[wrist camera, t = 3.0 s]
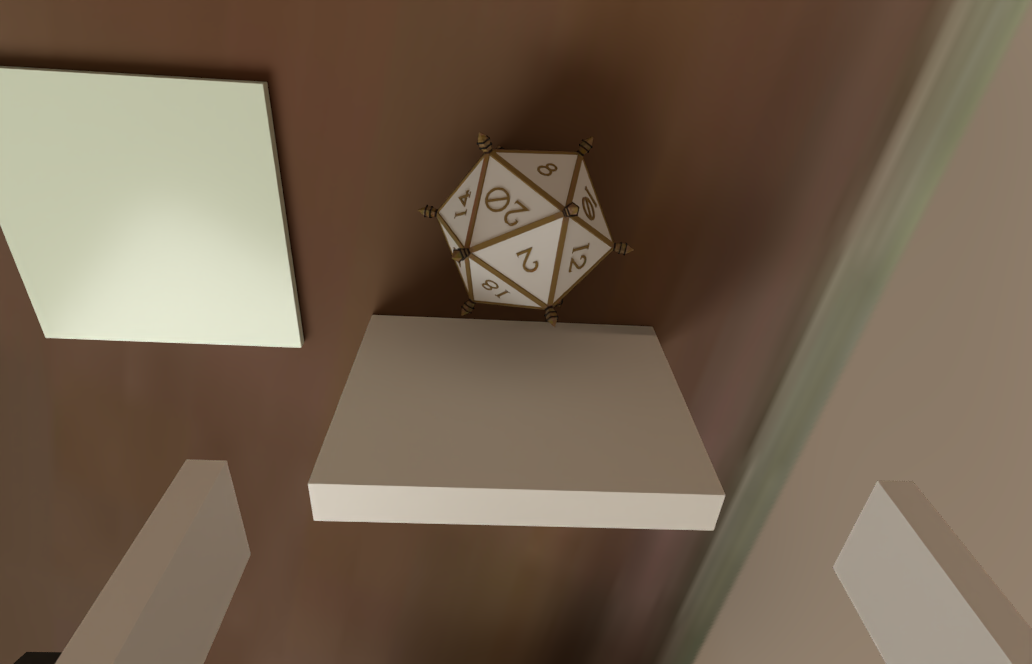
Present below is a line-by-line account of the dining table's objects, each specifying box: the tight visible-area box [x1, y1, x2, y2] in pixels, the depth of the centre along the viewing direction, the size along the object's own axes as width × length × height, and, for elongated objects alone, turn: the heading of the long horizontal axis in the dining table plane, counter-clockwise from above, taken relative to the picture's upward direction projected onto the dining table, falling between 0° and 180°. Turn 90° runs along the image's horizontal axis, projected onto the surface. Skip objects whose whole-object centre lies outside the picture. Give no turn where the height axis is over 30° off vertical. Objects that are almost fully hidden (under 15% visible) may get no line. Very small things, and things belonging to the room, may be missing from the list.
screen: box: [308, 315, 725, 531], centre depth 30 cm, size 6×16×13 cm, turn 86°
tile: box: [0, 66, 304, 348], centre depth 30 cm, size 14×14×1 cm
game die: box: [418, 132, 634, 327], centre depth 27 cm, size 9×8×10 cm
